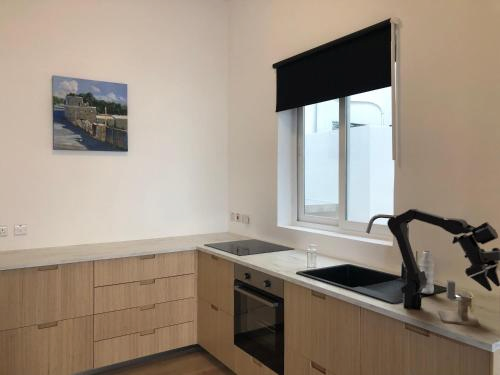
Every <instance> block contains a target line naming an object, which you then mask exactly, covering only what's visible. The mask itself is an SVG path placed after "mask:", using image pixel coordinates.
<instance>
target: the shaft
mask: <svg viewBox="0 0 500 375" xmlns="http://www.w3.org/2000/svg"><path fill="white" fill-rule="evenodd" d="M445 297H446V298H447V299H448V300H449V301H450V302H452V301H453V302H458V301H459V302H461V296H459V295H456V282H455V281H454V280H446V296H445ZM476 302H477V300H476V298H475V303H476Z"/></svg>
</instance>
